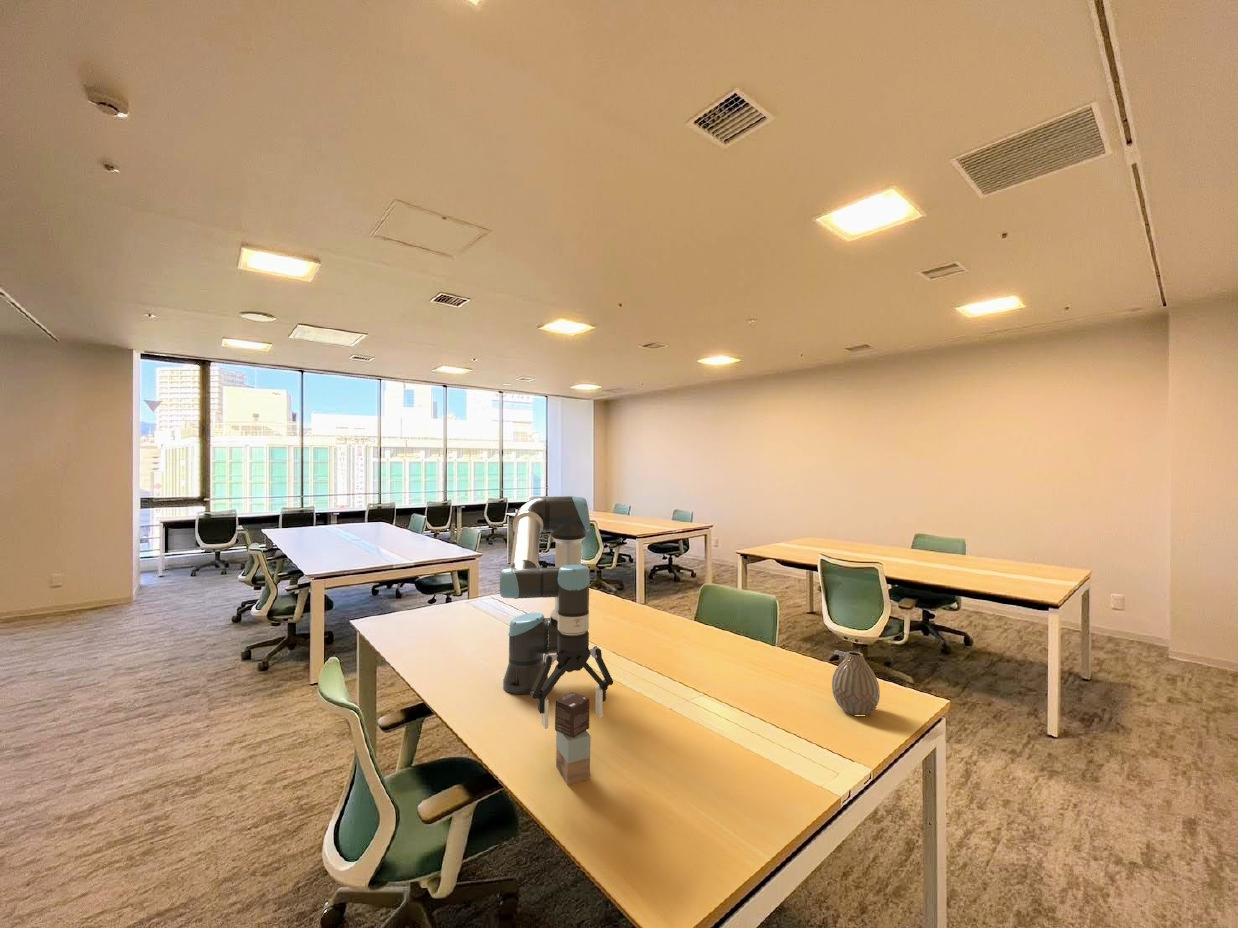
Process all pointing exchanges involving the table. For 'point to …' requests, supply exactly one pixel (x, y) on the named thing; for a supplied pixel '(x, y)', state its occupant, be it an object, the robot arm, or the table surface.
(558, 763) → the tower base
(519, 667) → the robot arm
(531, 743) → the table surface
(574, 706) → the box
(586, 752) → the tower top
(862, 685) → the vase
